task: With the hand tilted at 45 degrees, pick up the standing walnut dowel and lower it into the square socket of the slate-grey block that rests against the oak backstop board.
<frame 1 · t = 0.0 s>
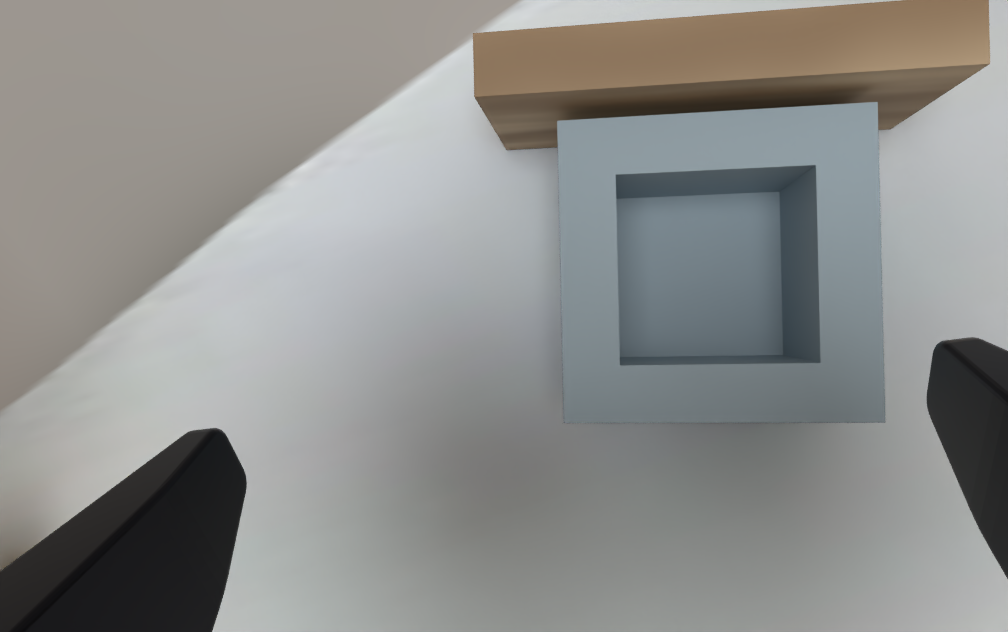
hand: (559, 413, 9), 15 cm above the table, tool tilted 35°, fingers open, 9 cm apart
socket block: (693, 277, 24), on the table
backstop board: (691, 115, 24), on the table
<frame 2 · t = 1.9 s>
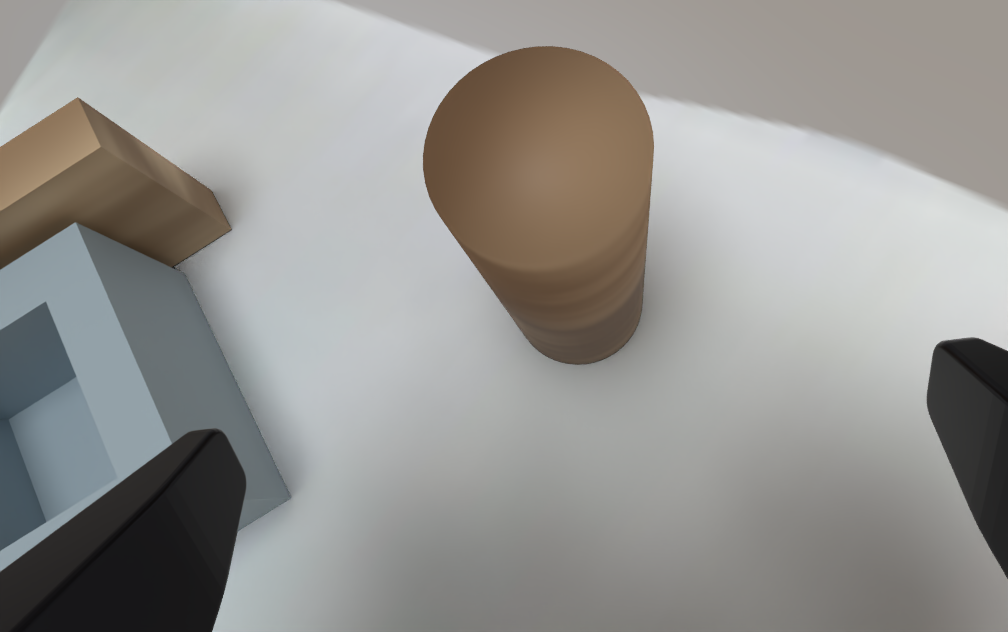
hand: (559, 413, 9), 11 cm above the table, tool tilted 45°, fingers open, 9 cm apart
dowel: (578, 302, 21), on the table
socket block: (128, 449, 23), on the table
backstop board: (65, 308, 24), on the table
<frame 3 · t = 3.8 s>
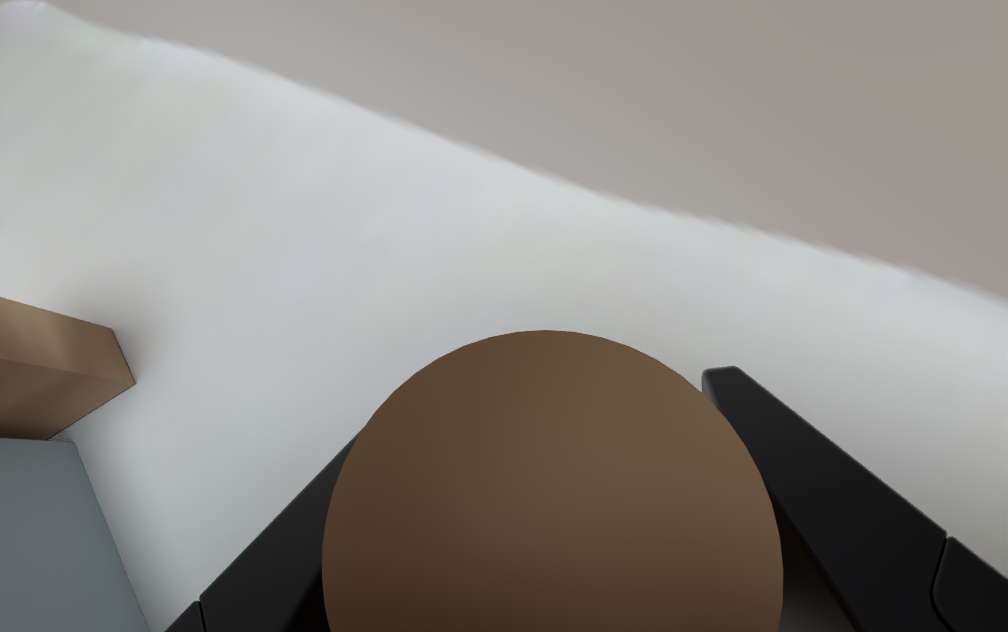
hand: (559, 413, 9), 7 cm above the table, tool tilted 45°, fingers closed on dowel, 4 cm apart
dowel: (595, 505, 15), on the table, touching gripper
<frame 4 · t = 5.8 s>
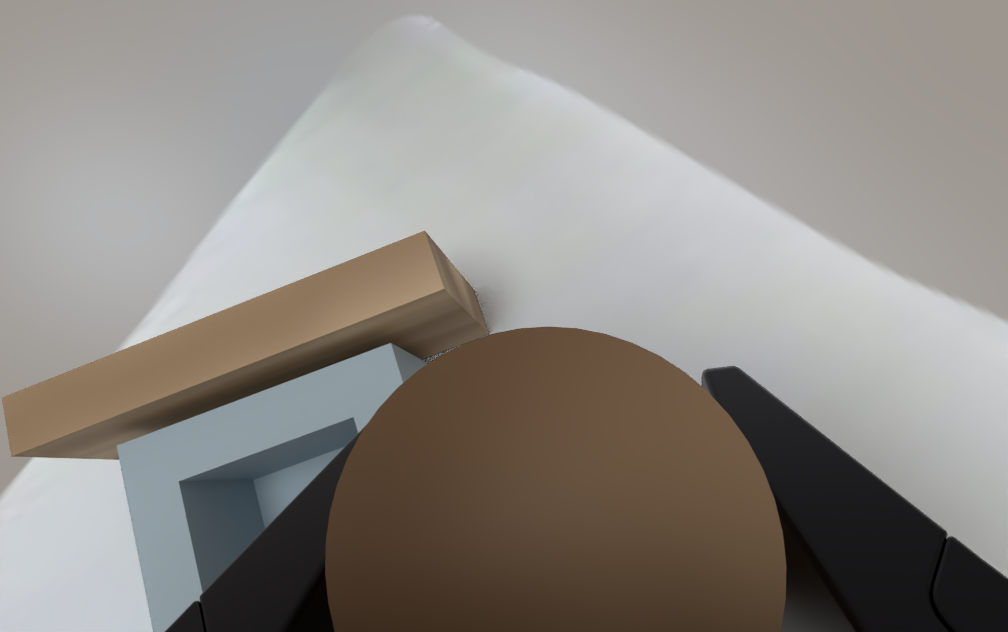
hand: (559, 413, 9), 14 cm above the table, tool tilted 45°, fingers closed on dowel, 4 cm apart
dowel: (596, 504, 15), point 7 cm above the table, touching gripper
socket block: (358, 530, 23), on the table
backstop board: (313, 375, 24), on the table
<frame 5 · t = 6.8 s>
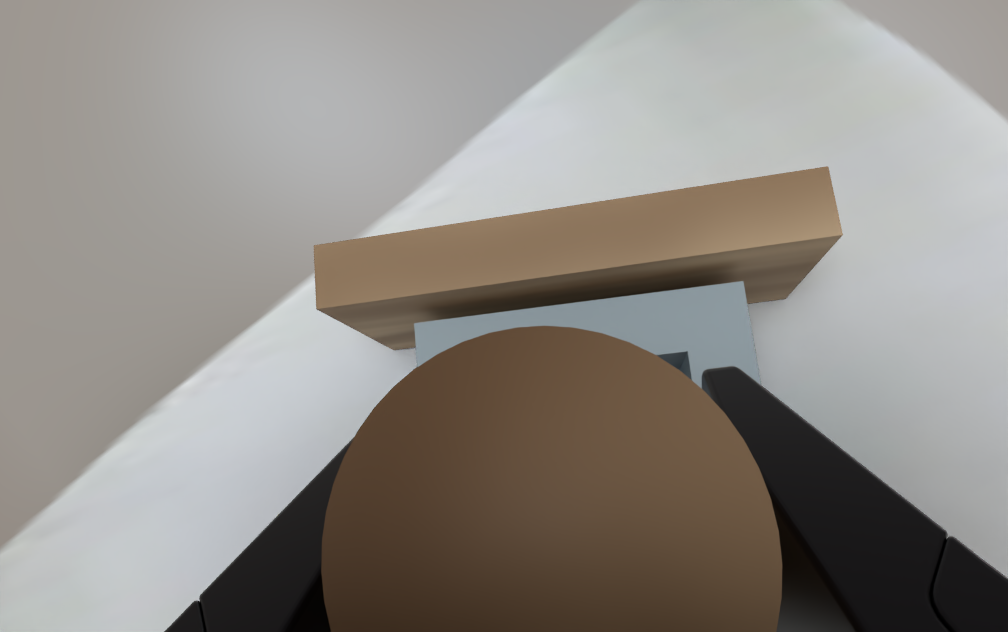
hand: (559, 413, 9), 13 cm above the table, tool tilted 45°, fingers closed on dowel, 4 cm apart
dowel: (595, 504, 15), point 6 cm above the table, touching gripper
socket block: (601, 471, 22), on the table
backstop board: (579, 300, 23), on the table
when the fingers open (10 cm above the table, at t = 7.7 s): dowel drops 2 cm, resting on socket block.
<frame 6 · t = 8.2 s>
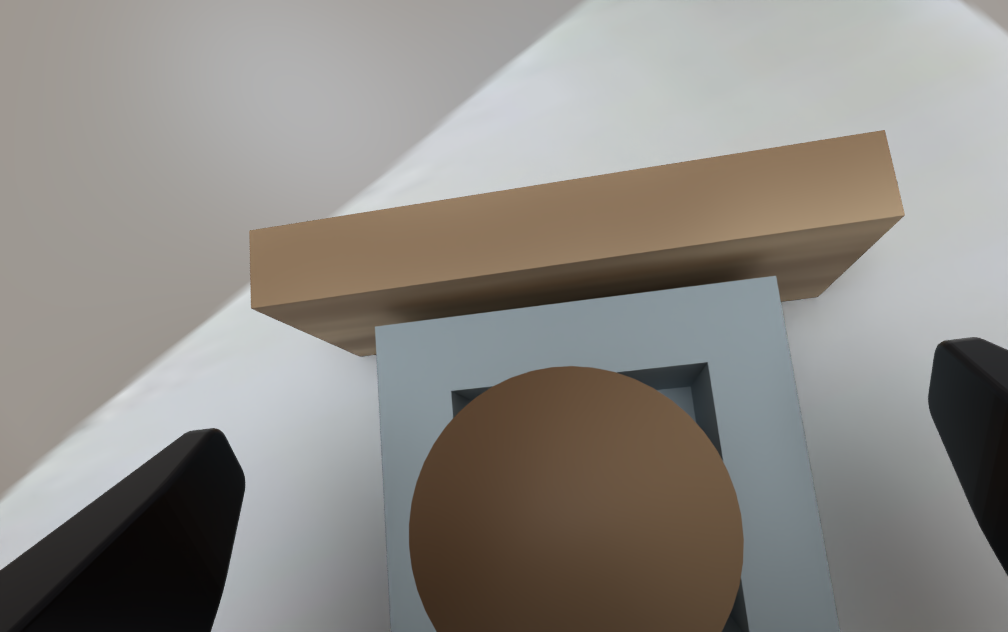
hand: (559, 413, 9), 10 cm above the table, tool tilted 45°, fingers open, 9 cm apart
dowel: (600, 502, 18), point 1 cm above the table, touching socket block
socket block: (601, 500, 19), on the table, touching dowel
backstop board: (575, 298, 19), on the table
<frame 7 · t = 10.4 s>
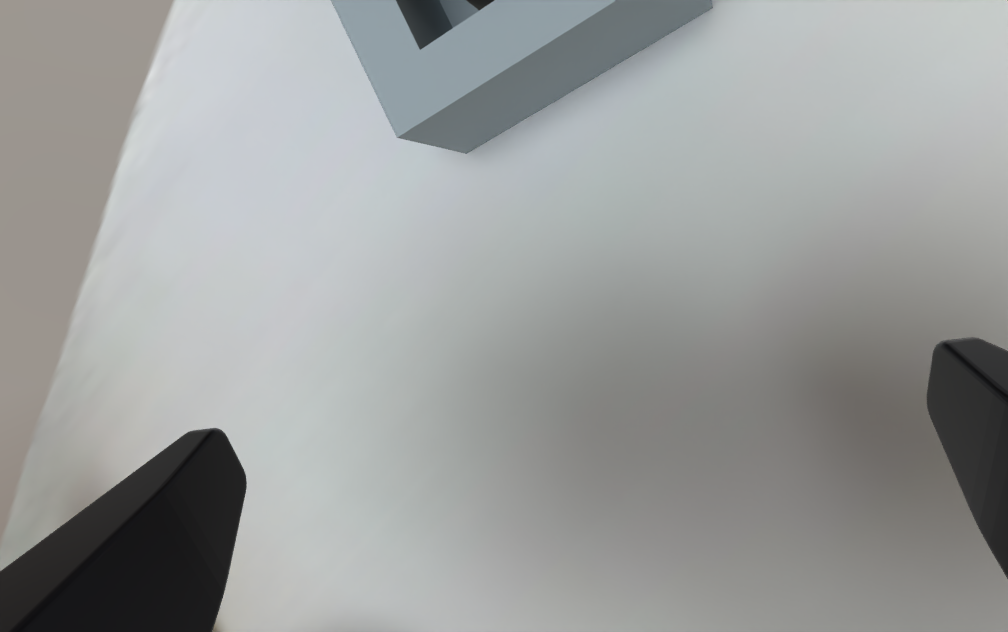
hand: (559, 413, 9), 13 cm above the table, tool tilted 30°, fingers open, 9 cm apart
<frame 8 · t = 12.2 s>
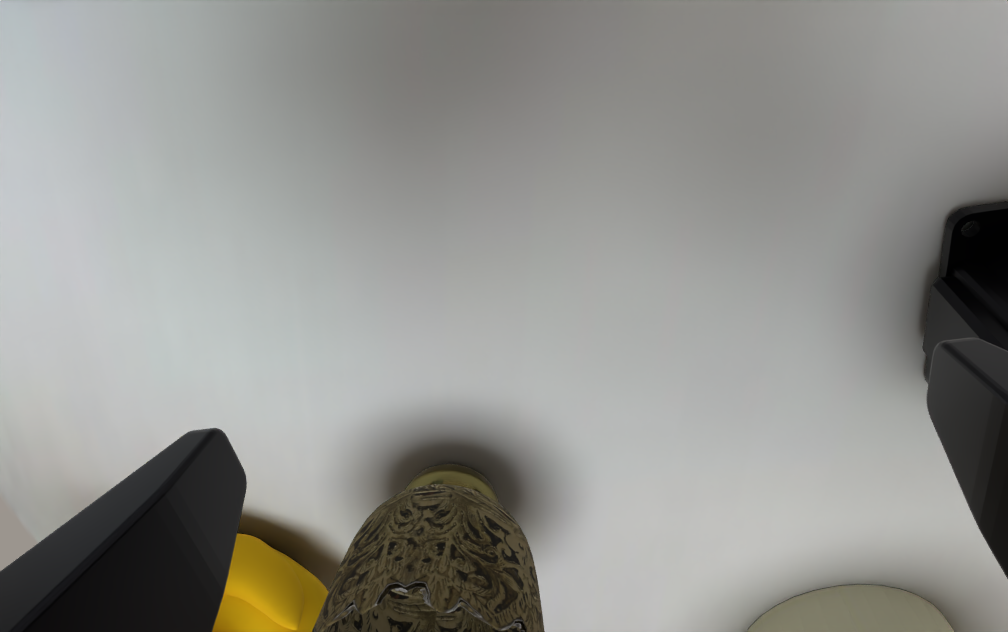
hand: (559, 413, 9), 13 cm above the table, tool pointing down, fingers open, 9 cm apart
duckling: (232, 543, 31), on the table
cup: (453, 486, 29), on the table
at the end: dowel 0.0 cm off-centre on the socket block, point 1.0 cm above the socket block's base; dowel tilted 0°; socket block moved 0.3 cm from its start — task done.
